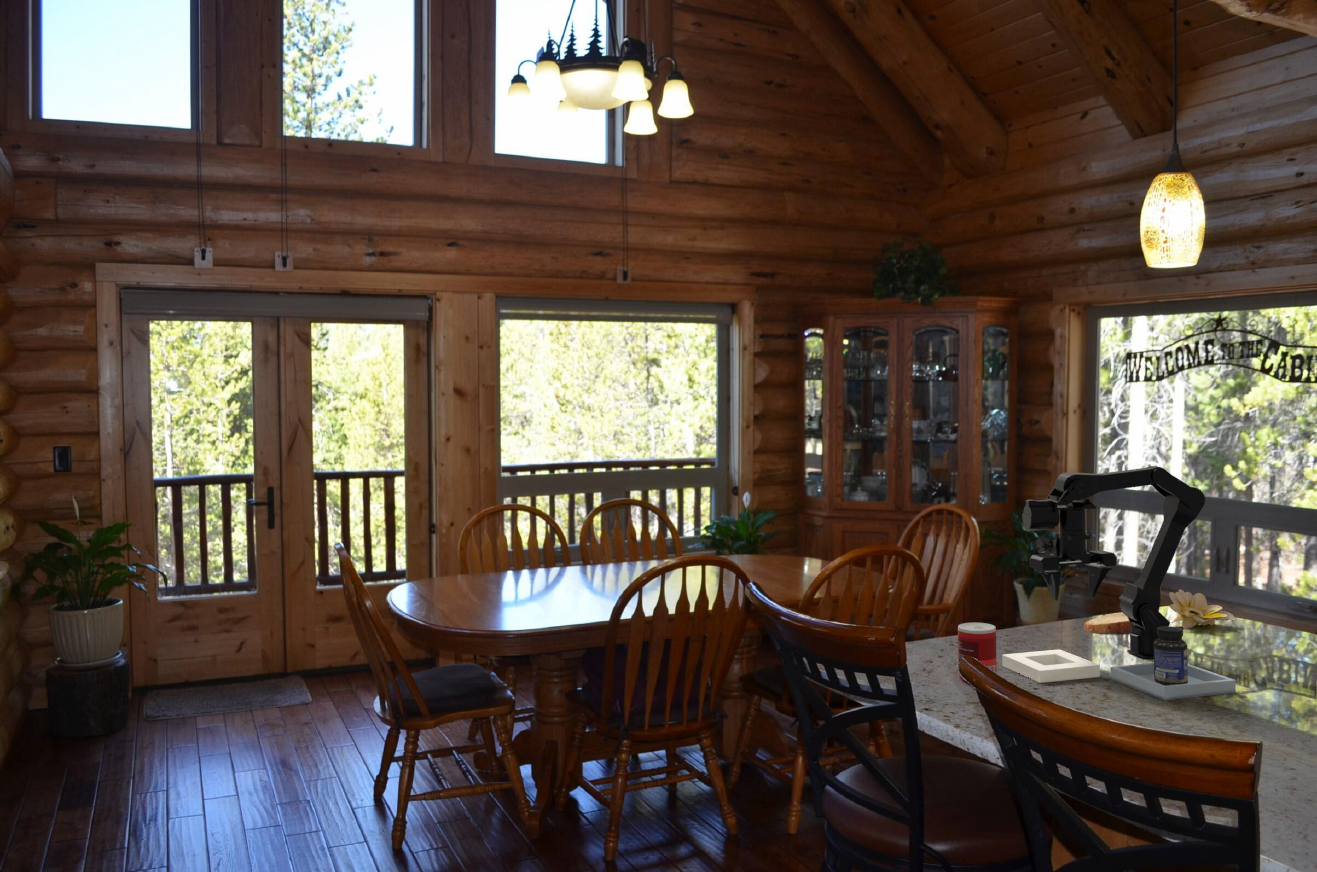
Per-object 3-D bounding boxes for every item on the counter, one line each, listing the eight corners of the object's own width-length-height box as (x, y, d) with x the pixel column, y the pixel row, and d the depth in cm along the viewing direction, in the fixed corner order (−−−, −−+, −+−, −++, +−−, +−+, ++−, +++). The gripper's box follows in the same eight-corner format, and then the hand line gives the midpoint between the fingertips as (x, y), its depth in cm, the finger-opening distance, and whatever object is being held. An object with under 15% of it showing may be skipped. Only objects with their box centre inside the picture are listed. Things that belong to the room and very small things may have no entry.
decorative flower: (1196, 628, 248) (1190, 586, 250) (1159, 630, 259) (1153, 589, 261) (1243, 626, 254) (1236, 585, 256) (1205, 628, 264) (1199, 588, 266)
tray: (1177, 672, 218) (1177, 660, 218) (1235, 692, 203) (1235, 680, 202) (1110, 678, 215) (1110, 666, 214) (1164, 700, 199) (1164, 687, 199)
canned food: (997, 674, 220) (996, 623, 220) (996, 684, 213) (995, 631, 212) (959, 672, 223) (958, 621, 222) (957, 682, 215) (956, 629, 215)
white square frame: (1059, 660, 230) (1059, 649, 230) (1099, 676, 216) (1099, 664, 216) (1002, 665, 227) (1002, 654, 227) (1039, 682, 213) (1039, 670, 213)
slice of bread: (1081, 634, 255) (1081, 619, 255) (1089, 619, 271) (1089, 604, 271) (1162, 640, 247) (1162, 624, 247) (1166, 624, 263) (1166, 610, 262)
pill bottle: (1192, 687, 205) (1191, 632, 205) (1158, 686, 206) (1158, 631, 206) (1182, 679, 211) (1181, 625, 211) (1150, 678, 212) (1149, 624, 212)
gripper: (1086, 522, 242) (1087, 589, 242) (1014, 527, 238) (1015, 595, 238) (1118, 528, 231) (1119, 598, 232) (1043, 533, 227) (1044, 604, 227)
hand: (1073, 598), depth 232 cm, fingers open, 9 cm apart
